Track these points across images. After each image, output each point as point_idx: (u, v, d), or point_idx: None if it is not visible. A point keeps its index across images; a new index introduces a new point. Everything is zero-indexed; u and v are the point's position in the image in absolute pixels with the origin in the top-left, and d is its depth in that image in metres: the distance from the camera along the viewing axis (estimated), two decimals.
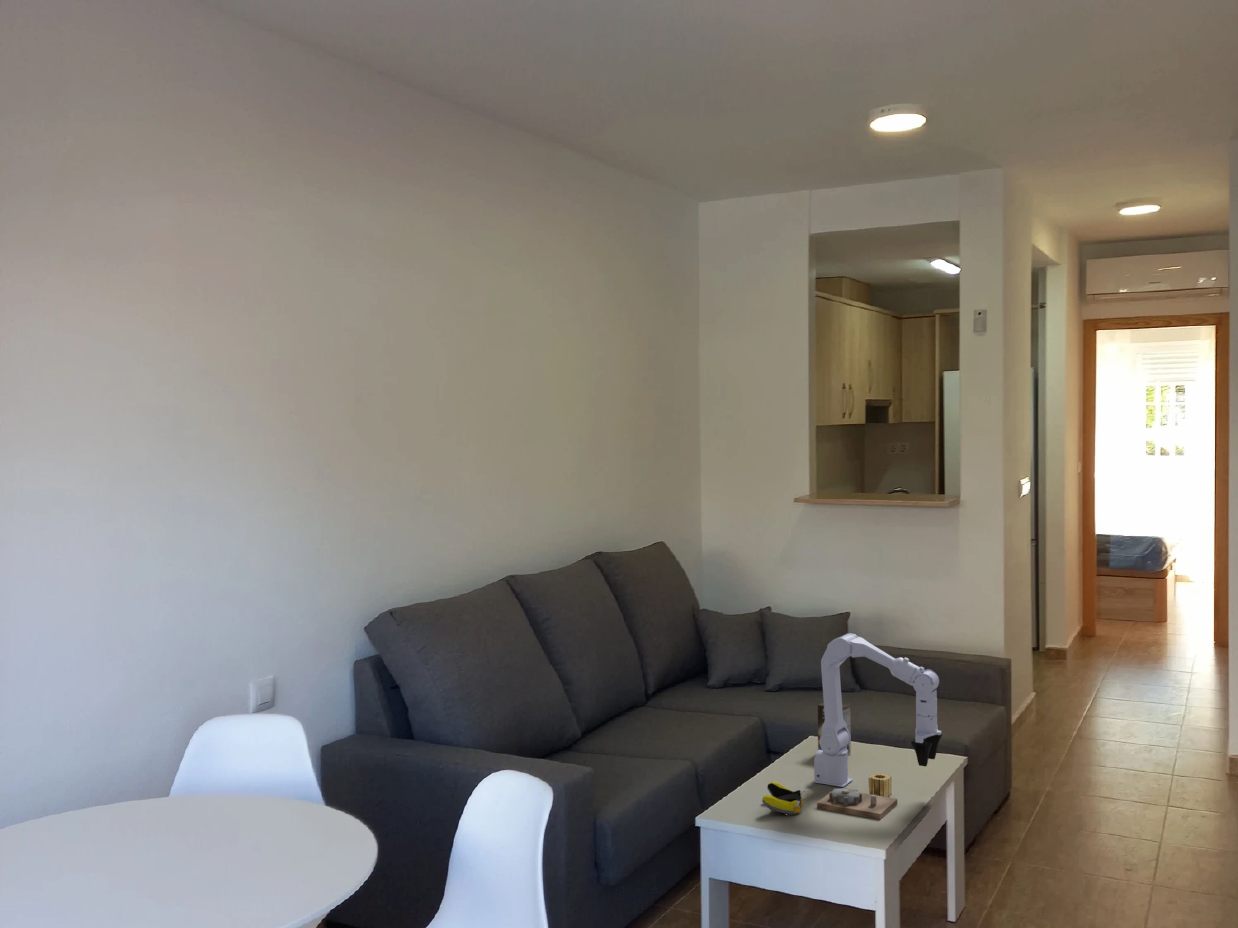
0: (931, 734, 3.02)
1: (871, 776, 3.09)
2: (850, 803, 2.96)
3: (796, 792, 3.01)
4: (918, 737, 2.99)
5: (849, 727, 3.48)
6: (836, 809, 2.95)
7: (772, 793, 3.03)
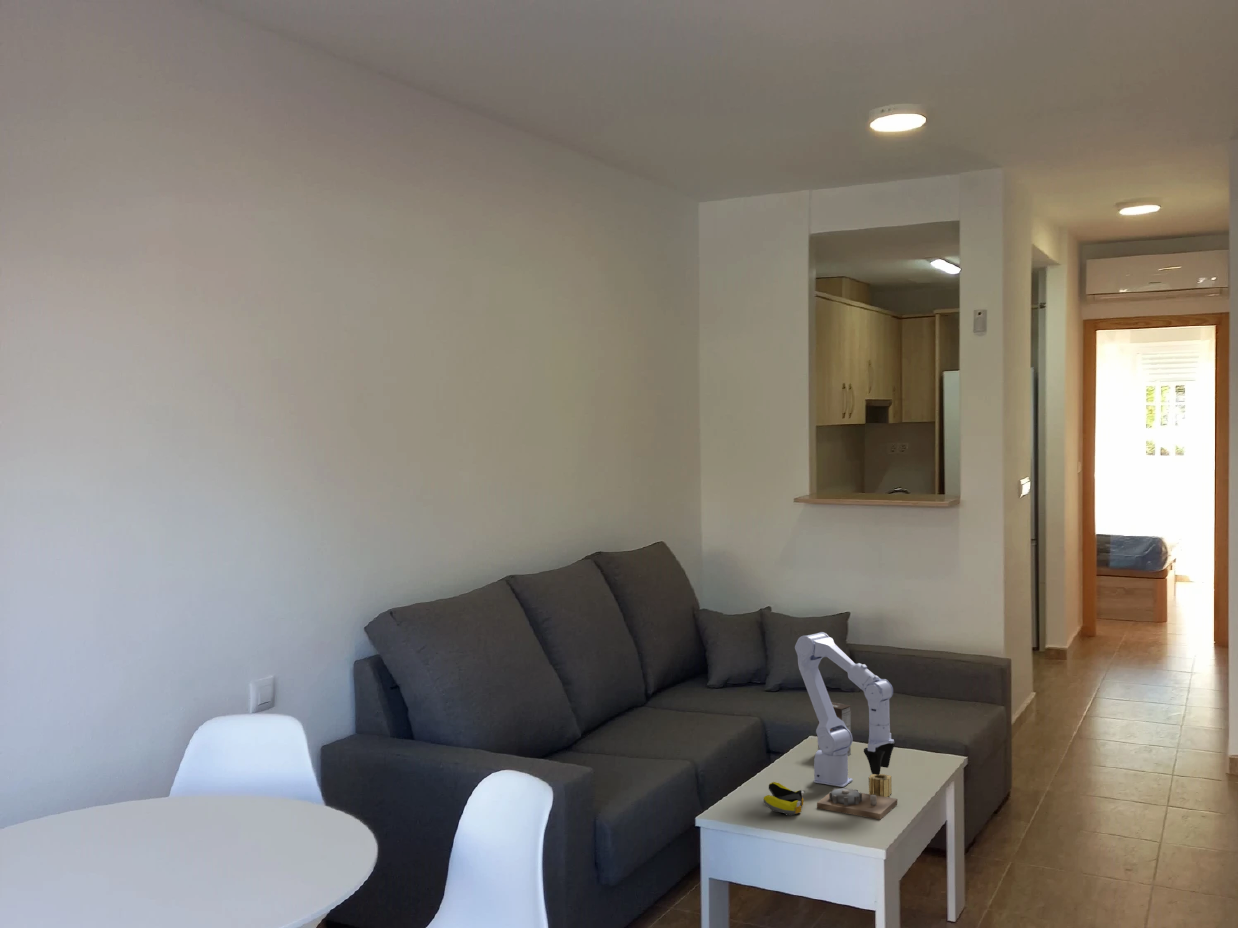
0: (883, 743, 3.05)
1: (871, 776, 3.09)
2: (850, 803, 2.96)
3: (797, 792, 3.01)
4: (870, 746, 3.03)
5: (849, 727, 3.48)
6: (836, 809, 2.95)
7: (773, 793, 3.03)
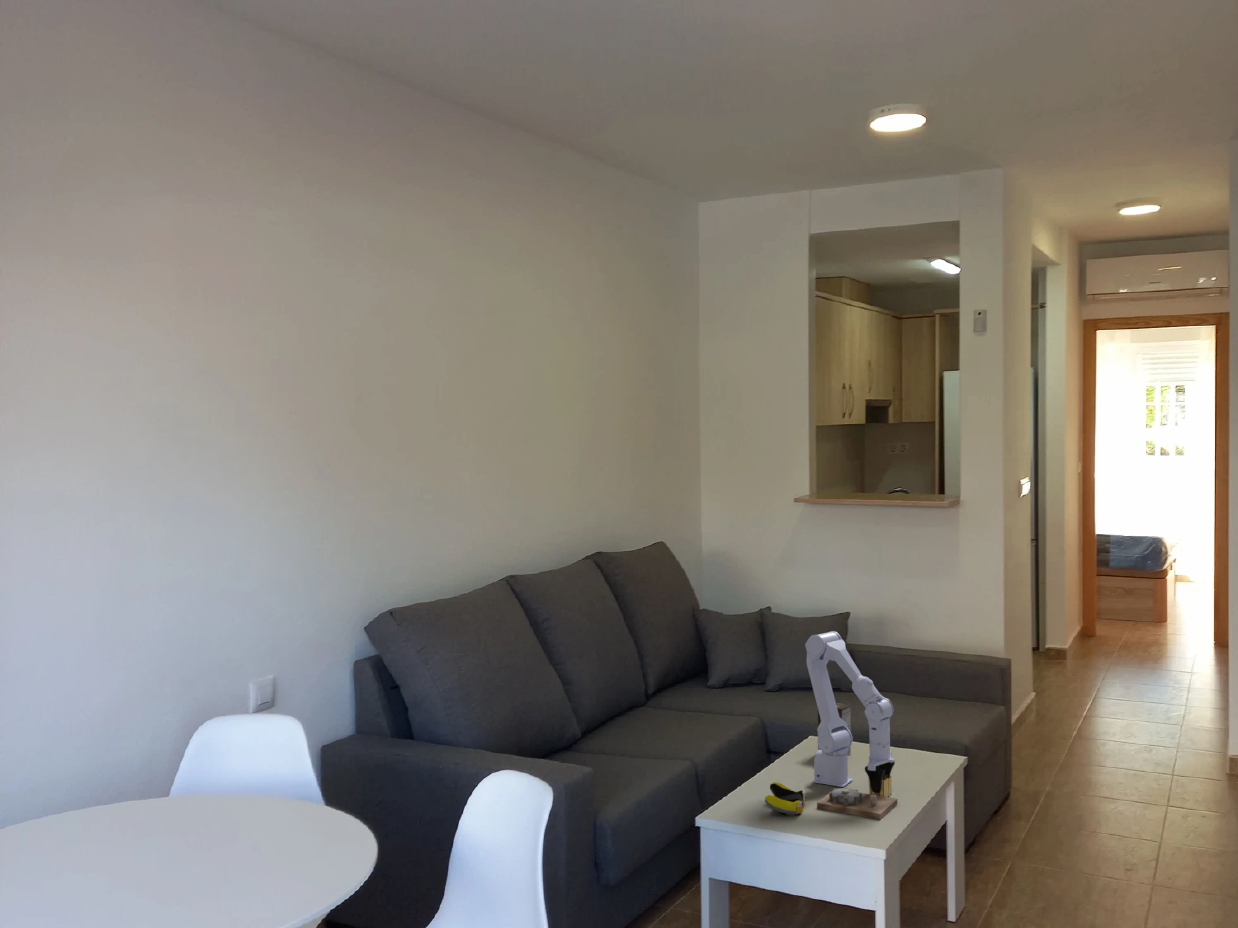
0: (883, 762, 3.05)
1: None
2: (850, 803, 2.96)
3: (799, 792, 3.01)
4: (870, 765, 3.03)
5: (849, 727, 3.48)
6: (836, 809, 2.95)
7: (774, 793, 3.03)
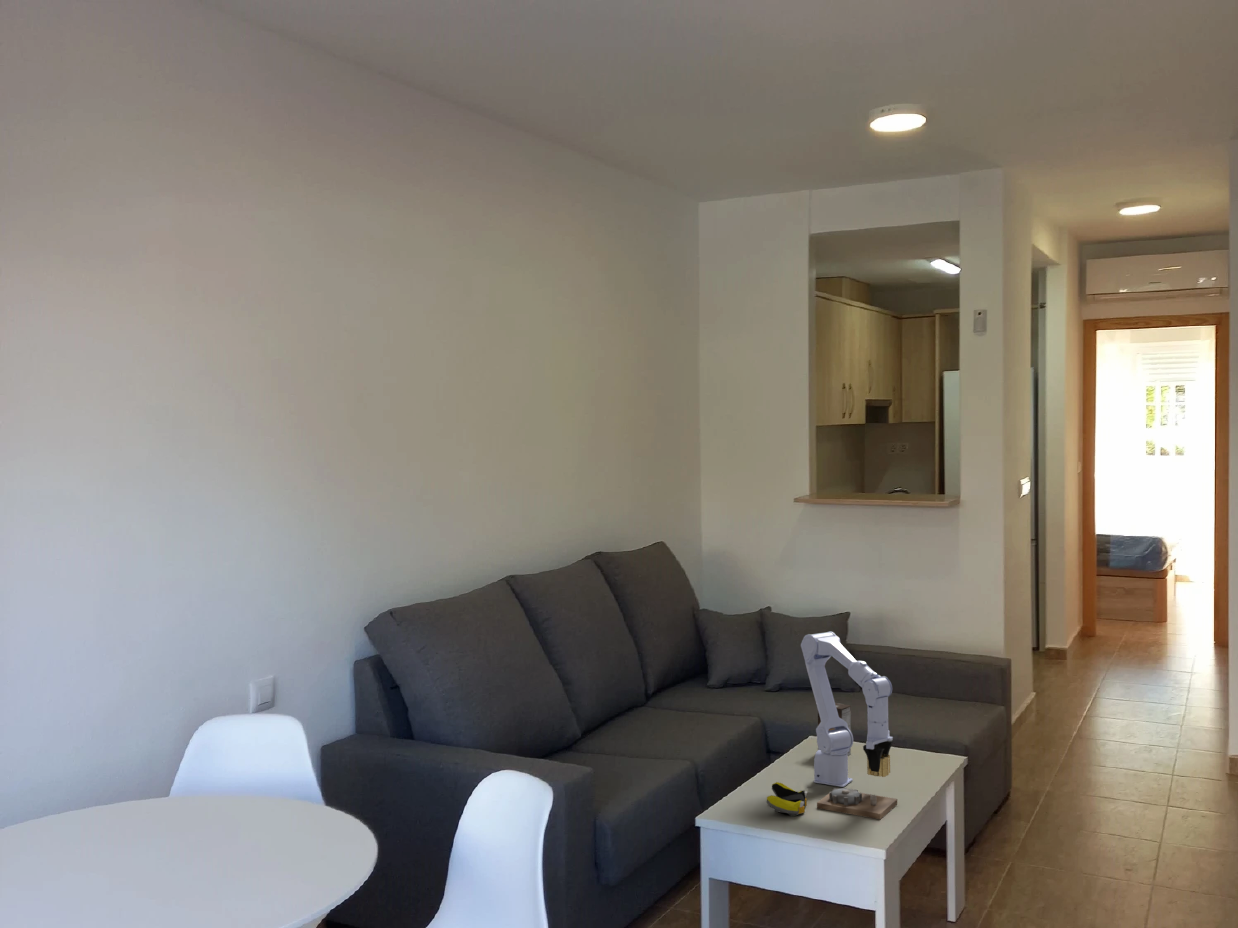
0: (882, 740, 3.02)
1: None
2: (850, 803, 2.96)
3: (801, 792, 3.01)
4: (869, 743, 2.99)
5: (849, 727, 3.48)
6: (836, 809, 2.95)
7: (776, 793, 3.03)
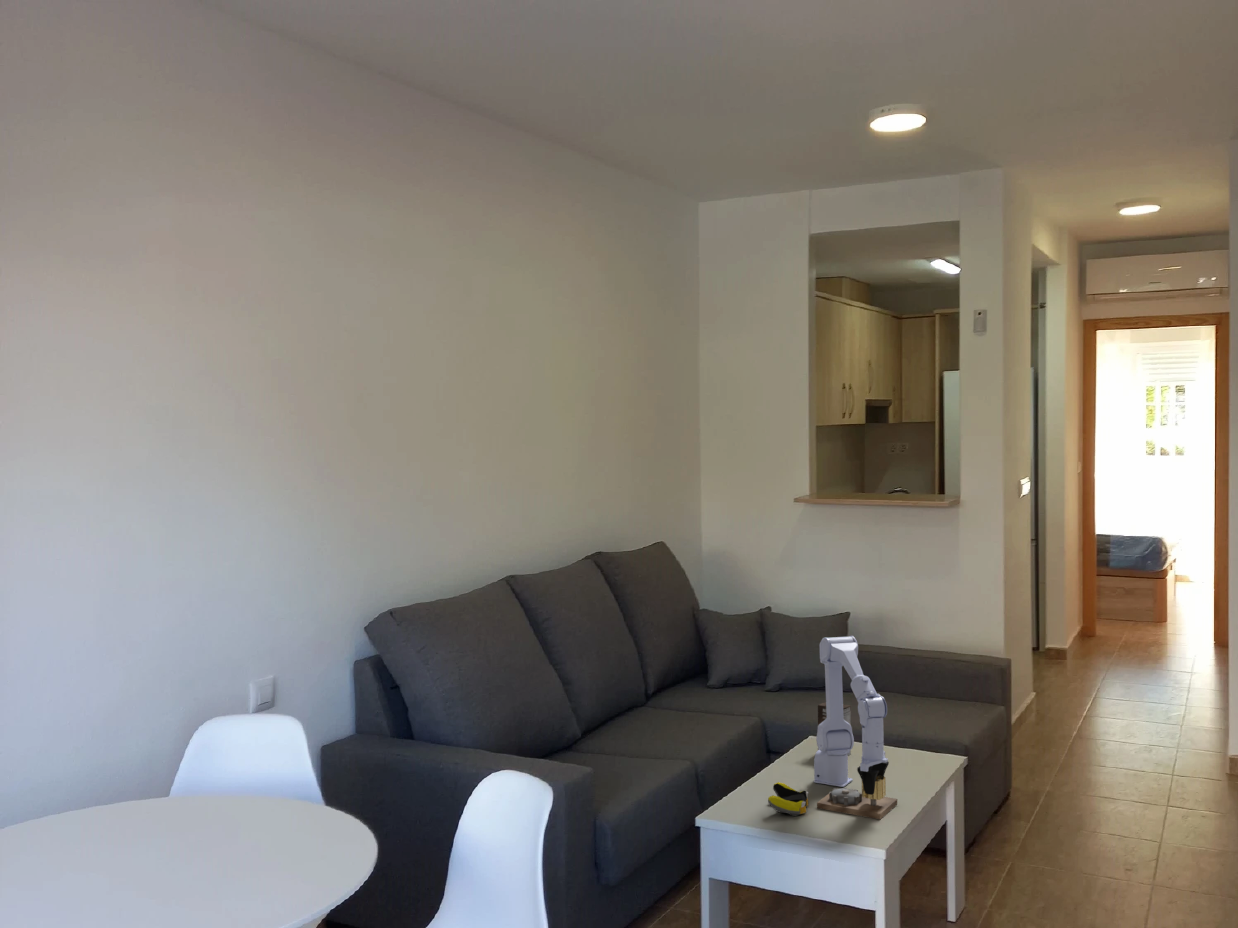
0: (877, 762, 2.92)
1: None
2: (850, 803, 2.96)
3: (802, 792, 3.01)
4: (863, 765, 2.89)
5: None
6: (836, 809, 2.95)
7: (778, 793, 3.03)
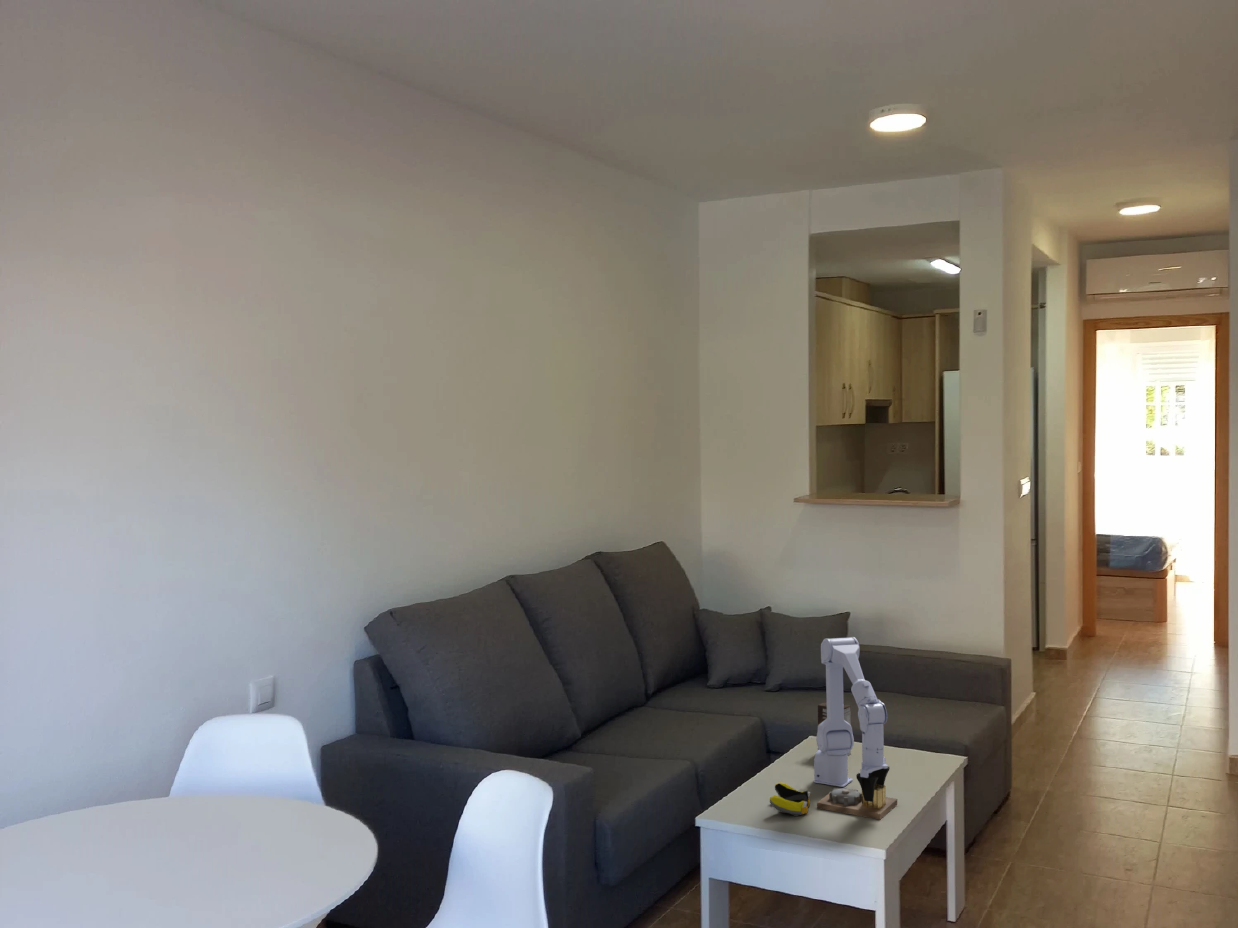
0: (877, 768, 2.92)
1: None
2: (850, 803, 2.96)
3: (804, 792, 3.01)
4: (863, 771, 2.89)
5: None
6: (836, 809, 2.95)
7: (779, 794, 3.02)
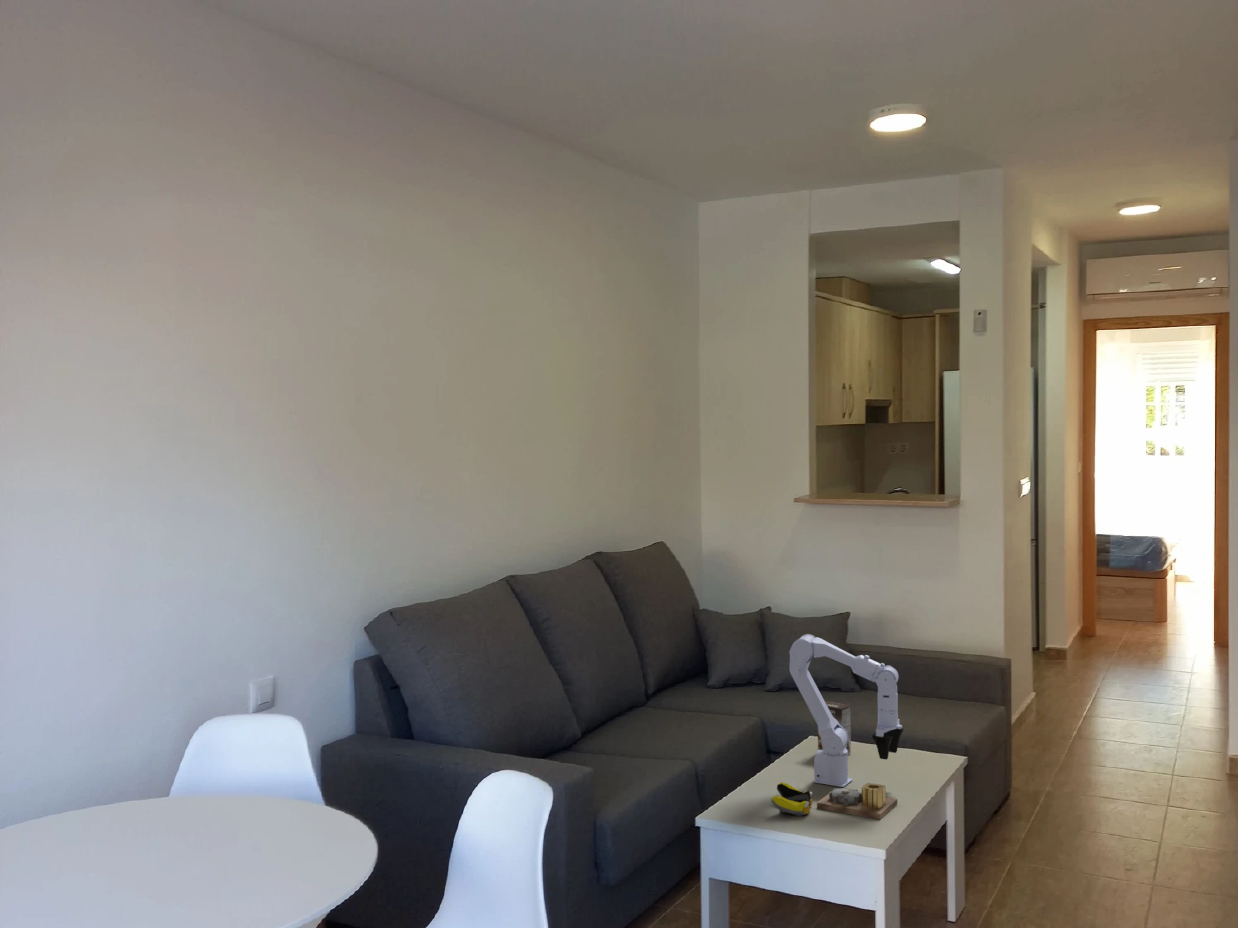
0: (891, 728, 3.11)
1: (864, 786, 2.96)
2: (850, 803, 2.96)
3: (806, 792, 3.00)
4: (878, 731, 3.08)
5: (849, 727, 3.48)
6: (836, 809, 2.95)
7: (781, 794, 3.02)
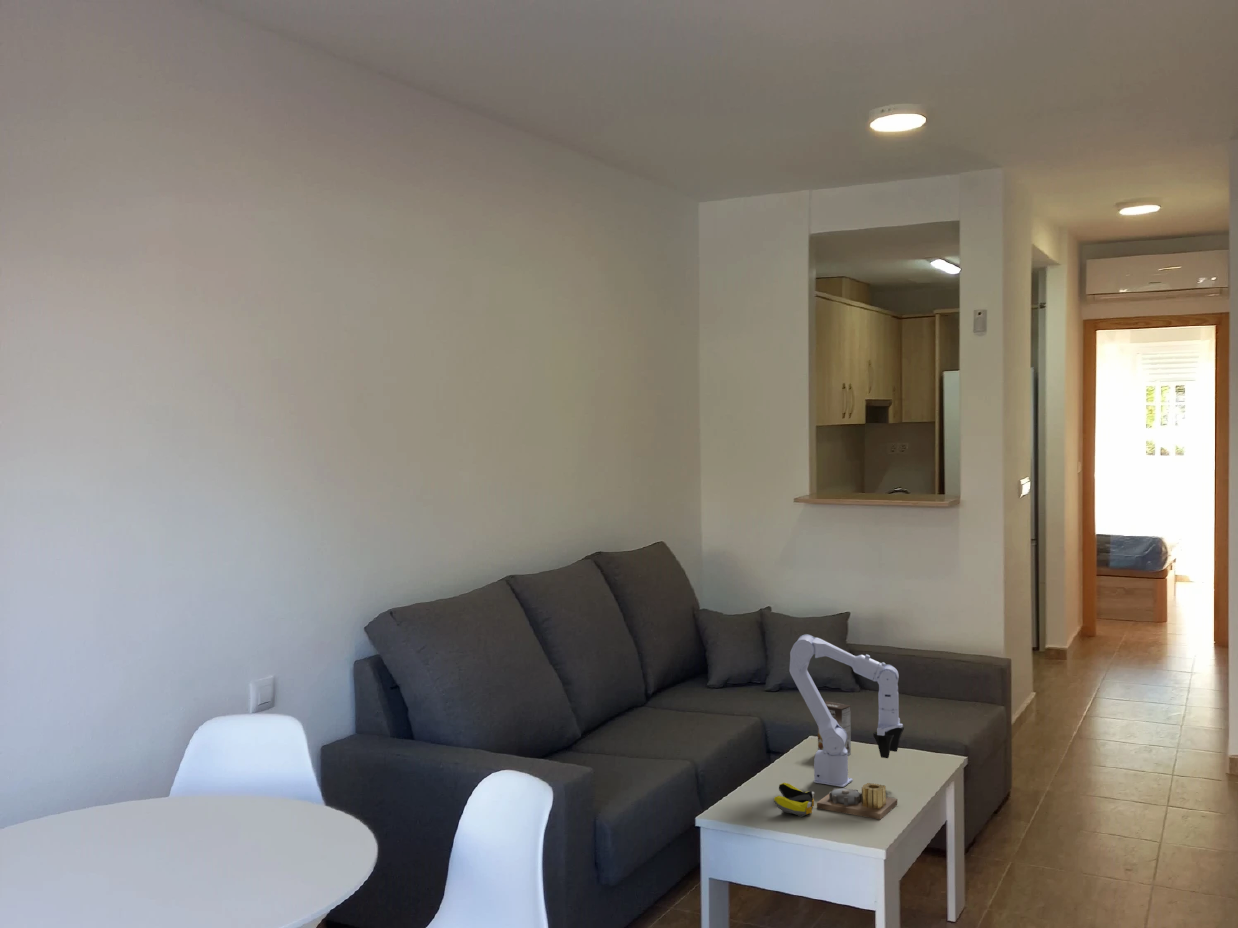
0: (892, 727, 3.12)
1: (864, 786, 2.96)
2: (850, 803, 2.96)
3: (808, 793, 3.00)
4: (880, 730, 3.09)
5: (849, 727, 3.48)
6: (836, 809, 2.95)
7: (783, 794, 3.02)
